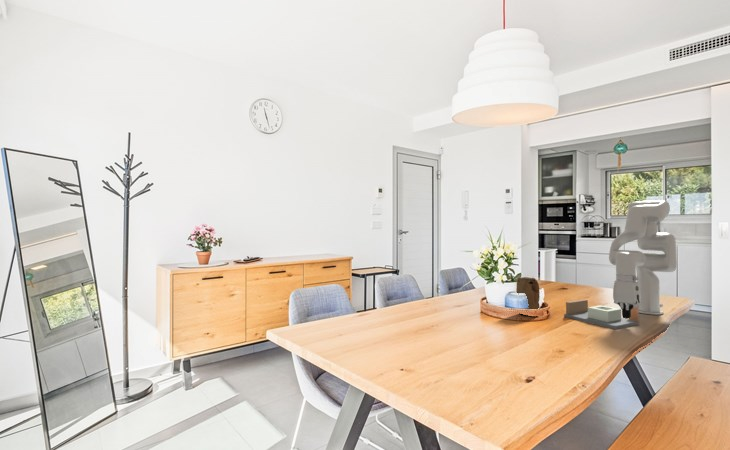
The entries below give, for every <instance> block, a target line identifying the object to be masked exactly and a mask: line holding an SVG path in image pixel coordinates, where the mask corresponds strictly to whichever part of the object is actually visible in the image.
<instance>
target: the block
mask: <svg viewBox="0 0 730 450" xmlns="http://www.w3.org/2000/svg"><path fill="white" fill-rule="evenodd" d="M516 292H517V293H525V294H526V296H527V299H528V304H529V306H528V307H529V309H538V308H539V309H540V306H541V305H540V297H541V296H540V294H541V293H540V285H539V282H538V280H537V279H536V278H535V277H530V276H529V277H527V276H522V277H517V279H516Z"/></svg>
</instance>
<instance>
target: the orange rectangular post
mask: <svg viewBox="0 0 730 450" xmlns="http://www.w3.org/2000/svg"><path fill="white" fill-rule="evenodd" d="M633 305H634V304H633ZM639 314H640V313H639V310H638V307H634V308H632V310H631V317H630V318H628V319H629V320H634V321H638V323H639V321H640V319H639V318H640V317H639Z"/></svg>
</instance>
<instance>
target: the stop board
mask: <svg viewBox="0 0 730 450" xmlns="http://www.w3.org/2000/svg"><path fill="white" fill-rule="evenodd" d="M588 303H589V302H588V299H579V300H571V301H566V302H565V312H566V313H564V314H563V316H564V318H567V319H571V320H575V321H578V322H579V321H580V322H583V323H587V324H592V325H596V326H600V327H604V328H609V329H613V330H619V329H624V328H629V327H633V326H634V327H635V326H638V325H639V322H638V321H634V320H629V318H628V319H625V318H623V317H621V320H616V321H611V322H606V321H601V320H597V319H592V318H588V306H589V305H588Z"/></svg>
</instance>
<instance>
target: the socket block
mask: <svg viewBox="0 0 730 450" xmlns="http://www.w3.org/2000/svg"><path fill="white" fill-rule="evenodd" d="M588 318H592V319H597V320H601V321H606V322H611V321H616V320H621V318H622V309H621V308H617V307H612V306H608V305H607V306H606V305H603V304H601V305H594V306H589V307H588Z"/></svg>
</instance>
